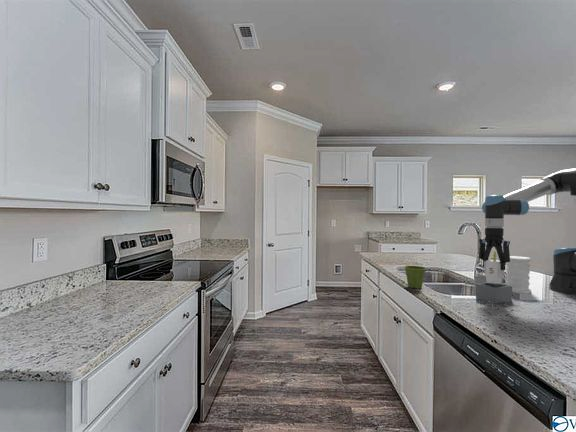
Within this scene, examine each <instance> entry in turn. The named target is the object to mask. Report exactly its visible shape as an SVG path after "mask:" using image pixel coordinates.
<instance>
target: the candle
mask: <svg viewBox="0 0 576 432" xmlns="http://www.w3.org/2000/svg"><path fill="white" fill-rule="evenodd" d="M499 262H500V260H499V259H498V260H497V251H494V252H493V256H492V259H488V260H486V274H485V275H486V282H487V283H492V284H501V283H502V278H503V277H498V263H499ZM502 284H503V283H502Z"/></svg>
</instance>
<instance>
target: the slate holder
mask: <svg viewBox="0 0 576 432" xmlns="http://www.w3.org/2000/svg"><path fill="white" fill-rule="evenodd" d="M476 298H477V299H476ZM475 299H476V300H479V299H480V300H479V301H483V300H485V301H484V302H487V301H490V302H493V303H492V304H494V303H500V304H503V303H502V302H506V303H510V302H509V301H512V302H513V292H512V286H509V285H507V284H504V283H502V284H492V283H487V282H486V283H478V284H476V286H475ZM490 302H489V303H490Z"/></svg>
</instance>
